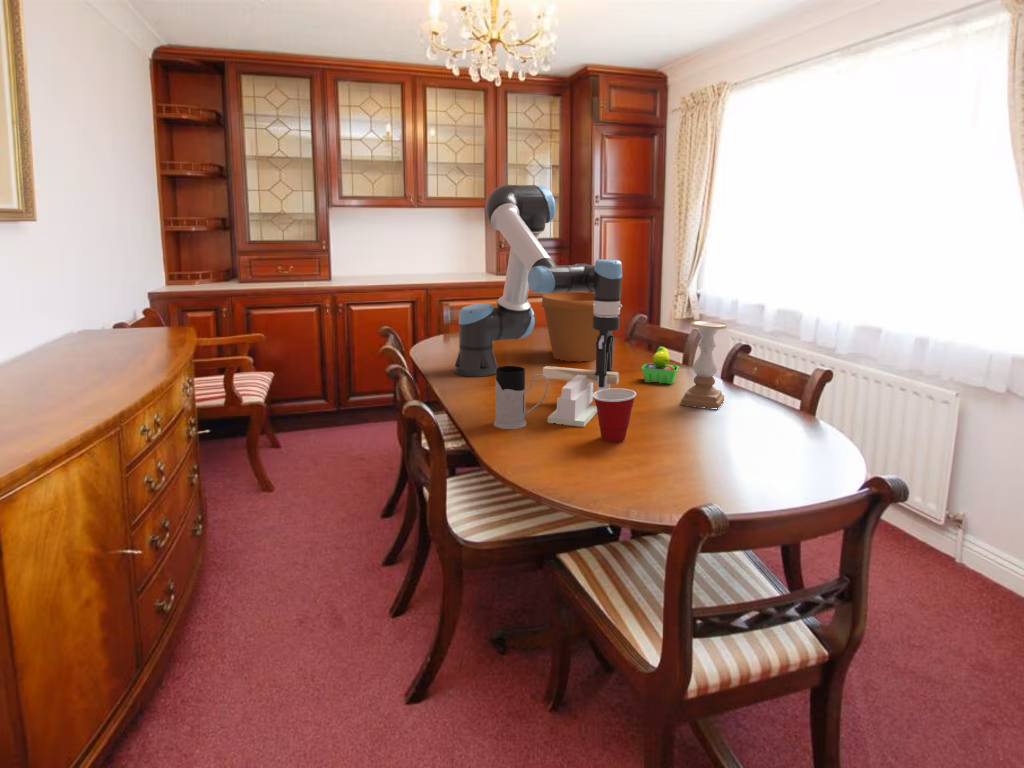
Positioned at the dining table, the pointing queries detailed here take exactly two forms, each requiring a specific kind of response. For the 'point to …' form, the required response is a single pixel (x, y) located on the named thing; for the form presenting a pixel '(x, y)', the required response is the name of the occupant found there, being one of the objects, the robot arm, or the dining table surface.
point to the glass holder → (511, 397)
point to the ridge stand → (574, 404)
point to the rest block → (590, 389)
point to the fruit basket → (660, 368)
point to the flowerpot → (571, 325)
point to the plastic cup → (614, 412)
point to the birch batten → (571, 373)
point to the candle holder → (705, 369)
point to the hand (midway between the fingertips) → (603, 395)
